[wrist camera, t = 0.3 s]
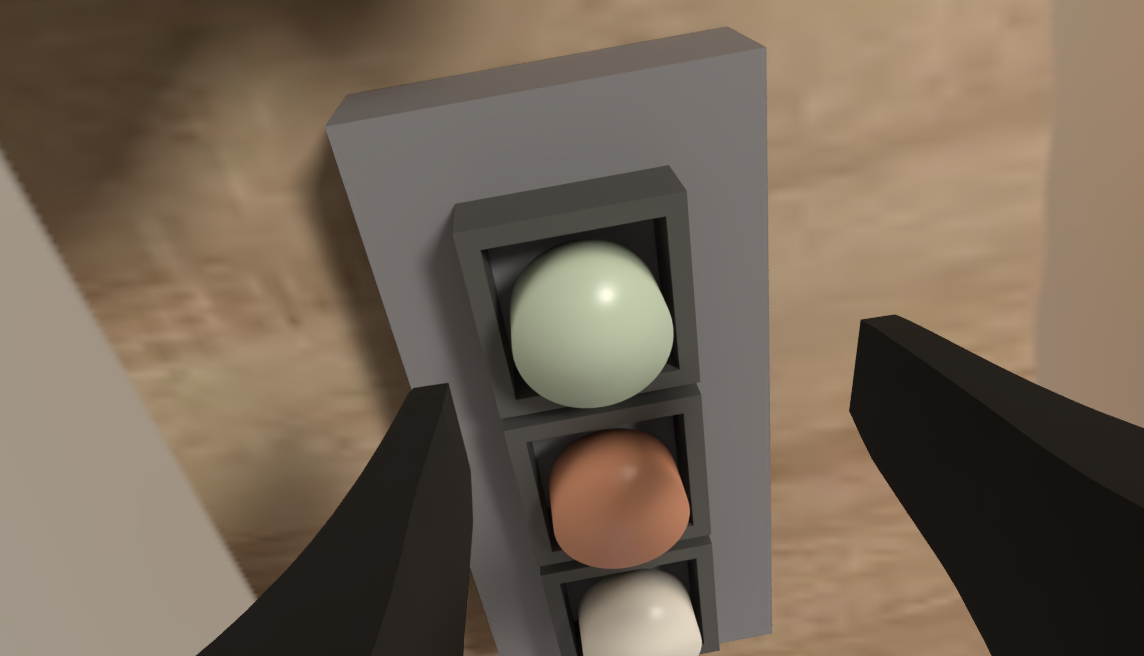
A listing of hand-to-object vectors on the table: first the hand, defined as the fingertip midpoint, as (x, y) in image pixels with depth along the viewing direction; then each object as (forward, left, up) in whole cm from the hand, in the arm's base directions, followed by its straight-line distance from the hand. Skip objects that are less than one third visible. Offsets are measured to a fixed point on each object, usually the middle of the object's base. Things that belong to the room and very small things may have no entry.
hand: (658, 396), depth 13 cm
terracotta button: (-5, -4, -5) cm, 8 cm away
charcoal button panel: (-5, -4, -10) cm, 12 cm away
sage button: (-1, 0, -5) cm, 5 cm away
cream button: (-8, -9, -5) cm, 13 cm away
